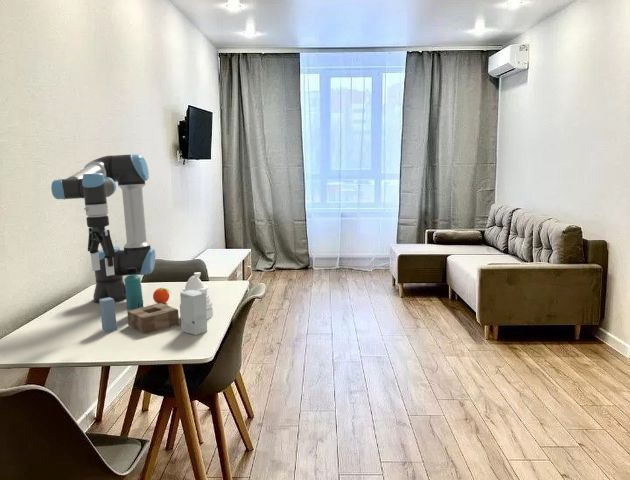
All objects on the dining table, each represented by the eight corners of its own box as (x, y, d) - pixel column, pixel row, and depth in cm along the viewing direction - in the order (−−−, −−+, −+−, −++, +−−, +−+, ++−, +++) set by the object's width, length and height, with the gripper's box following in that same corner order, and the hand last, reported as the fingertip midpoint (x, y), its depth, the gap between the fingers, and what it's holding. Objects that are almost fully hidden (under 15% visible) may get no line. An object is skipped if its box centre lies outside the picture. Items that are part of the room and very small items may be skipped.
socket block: (128, 325, 217) (127, 310, 216) (162, 317, 226) (160, 302, 225) (144, 333, 206) (143, 318, 205) (179, 324, 216) (177, 309, 215)
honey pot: (219, 313, 228) (216, 270, 225) (200, 323, 217) (196, 277, 214) (193, 310, 233) (190, 268, 230) (173, 320, 222) (169, 275, 219)
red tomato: (174, 301, 249) (173, 285, 248) (169, 305, 243) (167, 289, 241) (157, 301, 250) (155, 286, 249) (151, 306, 243) (149, 290, 242)
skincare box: (181, 331, 207) (178, 292, 205) (194, 327, 212) (191, 288, 209) (195, 335, 202) (192, 295, 199) (209, 331, 206) (206, 291, 204)
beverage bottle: (139, 318, 226) (134, 269, 223) (124, 317, 228) (119, 269, 224) (147, 313, 233) (142, 265, 229) (132, 313, 234) (128, 265, 231)
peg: (102, 330, 213) (99, 299, 211) (112, 327, 216) (109, 297, 214) (106, 332, 210) (103, 301, 208) (117, 329, 213) (113, 299, 211)
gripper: (74, 214, 212) (80, 270, 216) (100, 219, 194) (106, 279, 197) (94, 212, 217) (100, 266, 221) (121, 216, 199) (127, 275, 202)
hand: (103, 272), depth 209 cm, fingers open, 13 cm apart
